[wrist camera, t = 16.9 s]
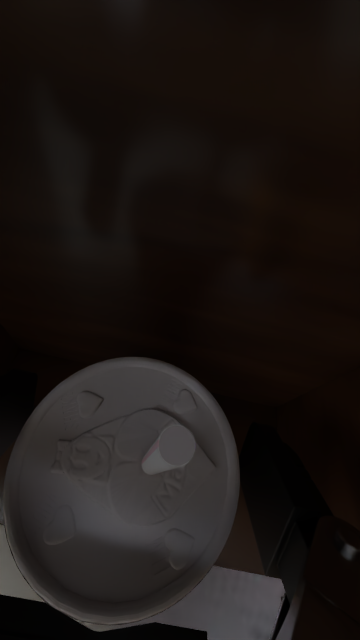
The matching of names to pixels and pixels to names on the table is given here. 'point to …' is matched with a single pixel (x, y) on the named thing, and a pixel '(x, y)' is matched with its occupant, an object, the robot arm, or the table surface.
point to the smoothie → (121, 490)
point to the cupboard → (191, 212)
